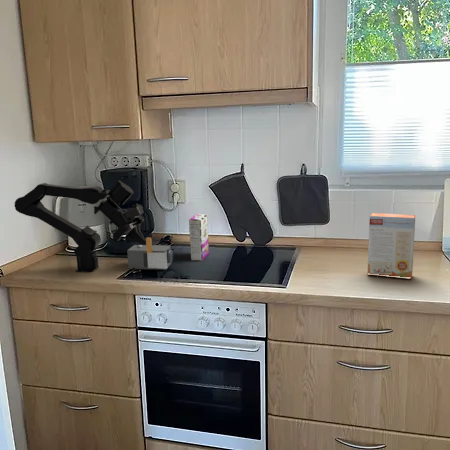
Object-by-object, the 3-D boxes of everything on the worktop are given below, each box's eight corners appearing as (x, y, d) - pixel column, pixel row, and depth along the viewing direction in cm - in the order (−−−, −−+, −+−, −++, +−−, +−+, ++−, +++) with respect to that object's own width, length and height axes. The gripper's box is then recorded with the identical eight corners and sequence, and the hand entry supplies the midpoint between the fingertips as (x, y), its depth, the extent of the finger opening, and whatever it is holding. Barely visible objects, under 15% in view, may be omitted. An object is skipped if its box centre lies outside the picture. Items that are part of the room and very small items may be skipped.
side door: (147, 268, 170) (146, 238, 167) (148, 267, 171) (147, 237, 168) (166, 269, 168) (165, 238, 166) (167, 268, 170) (166, 237, 167)
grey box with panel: (128, 268, 172) (127, 248, 171) (135, 262, 180) (134, 243, 179) (168, 269, 170) (167, 249, 169) (174, 263, 178) (173, 244, 176)
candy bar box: (197, 253, 192) (196, 213, 189) (209, 253, 191) (208, 213, 188) (189, 260, 182) (188, 219, 178) (202, 261, 181) (201, 219, 177)
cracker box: (412, 275, 158) (416, 214, 154) (411, 280, 153) (415, 217, 149) (369, 271, 164) (372, 212, 160) (366, 275, 159) (369, 215, 155)
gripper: (119, 201, 157) (153, 234, 157) (137, 194, 175) (167, 223, 175) (98, 224, 160) (132, 256, 160) (118, 214, 178) (148, 243, 178)
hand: (146, 244), depth 168 cm, fingers closed, pressing on side door
